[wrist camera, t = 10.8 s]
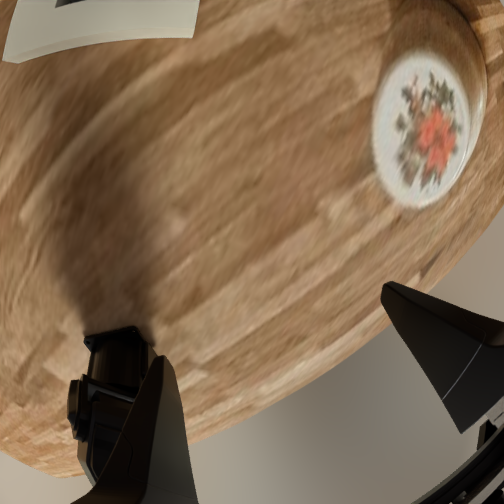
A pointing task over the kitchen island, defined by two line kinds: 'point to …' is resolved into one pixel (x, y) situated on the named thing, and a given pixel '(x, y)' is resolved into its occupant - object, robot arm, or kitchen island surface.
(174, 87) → the kitchen island surface
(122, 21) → the socket box
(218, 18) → the kitchen island surface
